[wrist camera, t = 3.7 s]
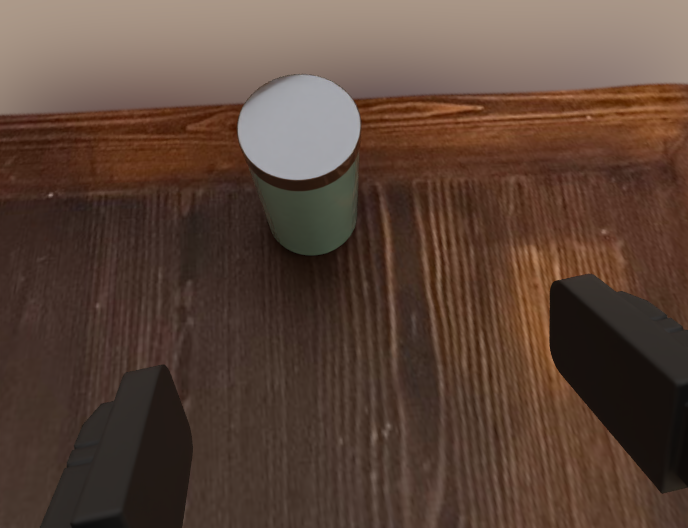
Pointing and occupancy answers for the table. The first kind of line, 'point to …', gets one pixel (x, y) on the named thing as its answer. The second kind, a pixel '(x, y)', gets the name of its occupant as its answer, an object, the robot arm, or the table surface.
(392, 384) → the table surface
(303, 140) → the jar
